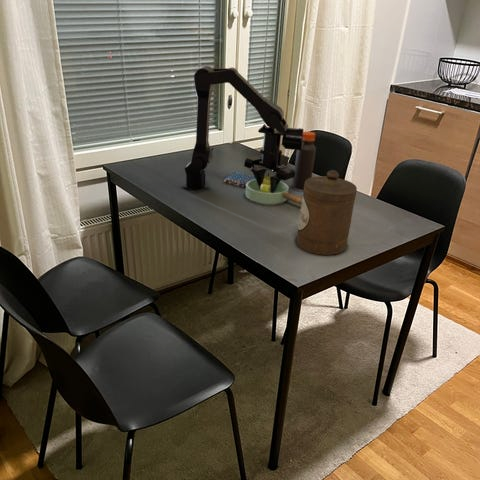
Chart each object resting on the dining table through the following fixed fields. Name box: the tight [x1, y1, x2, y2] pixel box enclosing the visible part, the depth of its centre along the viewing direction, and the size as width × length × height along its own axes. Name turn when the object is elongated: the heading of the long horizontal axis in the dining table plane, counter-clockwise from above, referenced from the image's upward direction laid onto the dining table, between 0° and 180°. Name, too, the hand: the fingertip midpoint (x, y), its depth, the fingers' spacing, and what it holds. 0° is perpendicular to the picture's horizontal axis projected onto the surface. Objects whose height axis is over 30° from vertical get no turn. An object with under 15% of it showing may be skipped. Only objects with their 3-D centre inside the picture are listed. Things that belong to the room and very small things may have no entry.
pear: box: [260, 172, 271, 193], centre depth 172 cm, size 5×5×8 cm
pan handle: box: [283, 192, 303, 206], centre depth 166 cm, size 2×12×2 cm, turn 47°
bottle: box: [291, 131, 317, 191], centre depth 179 cm, size 7×7×20 cm
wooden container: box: [296, 169, 358, 256], centre depth 140 cm, size 15×15×22 cm
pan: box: [244, 179, 290, 205], centre depth 174 cm, size 15×15×4 cm
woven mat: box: [223, 171, 256, 188], centre depth 185 cm, size 10×11×2 cm
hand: (266, 191), depth 174 cm, fingers closed on pear, 5 cm apart
